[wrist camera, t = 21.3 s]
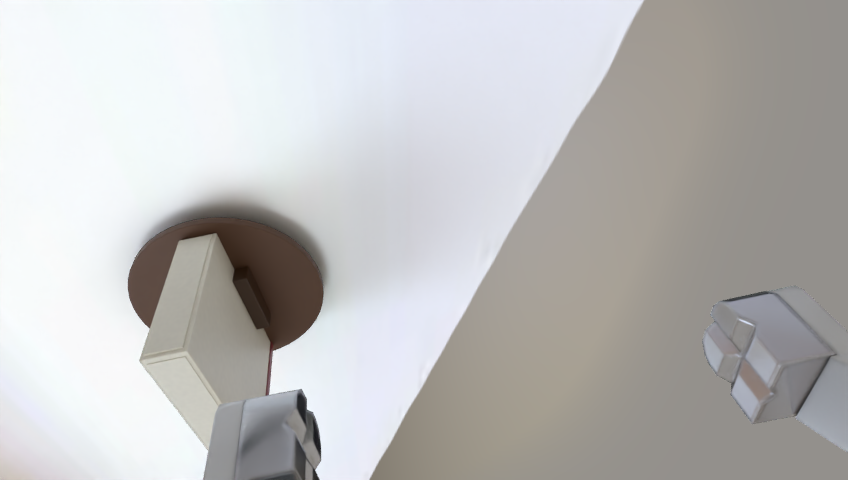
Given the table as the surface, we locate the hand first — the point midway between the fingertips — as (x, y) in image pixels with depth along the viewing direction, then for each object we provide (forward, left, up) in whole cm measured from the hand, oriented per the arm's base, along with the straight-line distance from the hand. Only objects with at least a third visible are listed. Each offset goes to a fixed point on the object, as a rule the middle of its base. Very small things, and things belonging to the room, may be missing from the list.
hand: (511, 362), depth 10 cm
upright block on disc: (-2, -28, -30) cm, 41 cm away
